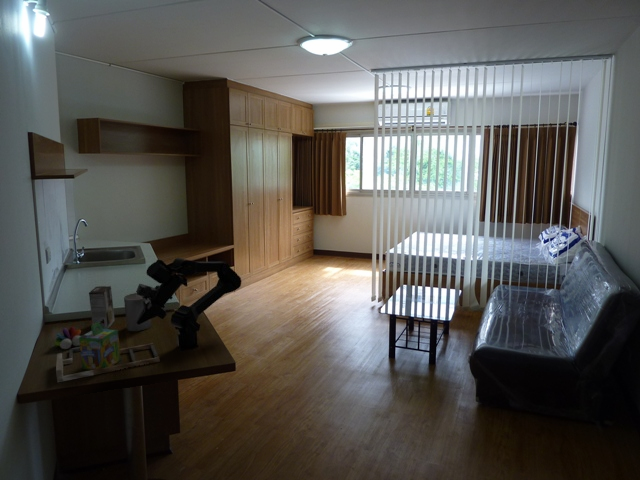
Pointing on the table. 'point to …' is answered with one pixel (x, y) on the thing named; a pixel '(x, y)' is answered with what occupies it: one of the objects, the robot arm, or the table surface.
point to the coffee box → (102, 306)
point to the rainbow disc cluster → (68, 338)
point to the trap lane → (107, 369)
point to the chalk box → (99, 348)
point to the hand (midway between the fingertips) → (137, 323)
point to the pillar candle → (135, 312)
